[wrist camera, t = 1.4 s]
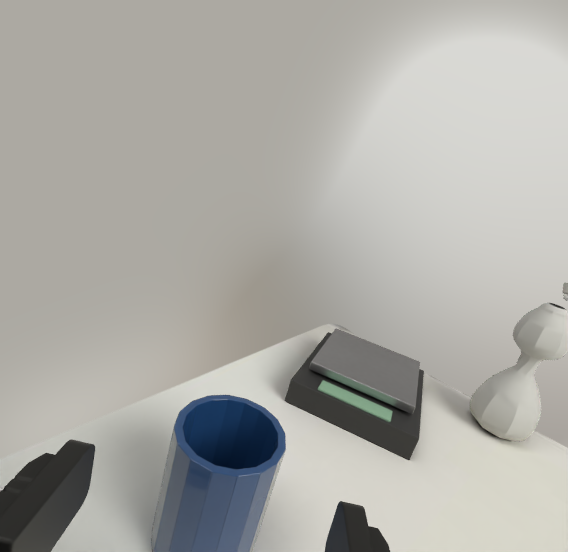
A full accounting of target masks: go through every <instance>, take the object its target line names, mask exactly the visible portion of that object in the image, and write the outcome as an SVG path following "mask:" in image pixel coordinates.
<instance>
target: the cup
mask: <svg viewBox="0 0 568 552" xmlns="http://www.w3.org/2000/svg"><path fill="white" fill-rule="evenodd" d="M285 450H286V443H285V432H284V431H283V429H282V427H281V425H280V423H279V421H278V420H277V418H275V417H274V416H273V415H272V414H271V413H270V412H269V411H268V410H266V409H265V408H264V407H262V406H260V405H258V404H256V403H254V402H252V401H250V400H248V399H245V398H240V397H235V396H231V395H211V396H206V397H203V398H200V399H197V400H194V401H192V402H191V403H189V404H188V405H187V406H186V407H185V408H184V409H182V410H181V411H180V412H179V414H178V417H177V420H176V422H175V425H174V429H173V434H172V438H171V443H170V448H169V452H168V457H167V462H166V466H165V471H164V476H163V481H162V485H161V490H160V495H159V499H158V504H157V509H156V514H155V518H154V523H153V528H152V538H151V547H152V552H252V551H253V549H254V546H255V543H256V539H257V536H258V533H259V530H260V527H261V524H262V521H263V518H264V515H265V512H266V509H267V506H268V502H269V499H270V496H271V493H272V490H273V487H274V484H275V481H276V478H277V475H278V472H279V468H280V465H281V462H282V459H283V456H284V453H285Z"/></svg>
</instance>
